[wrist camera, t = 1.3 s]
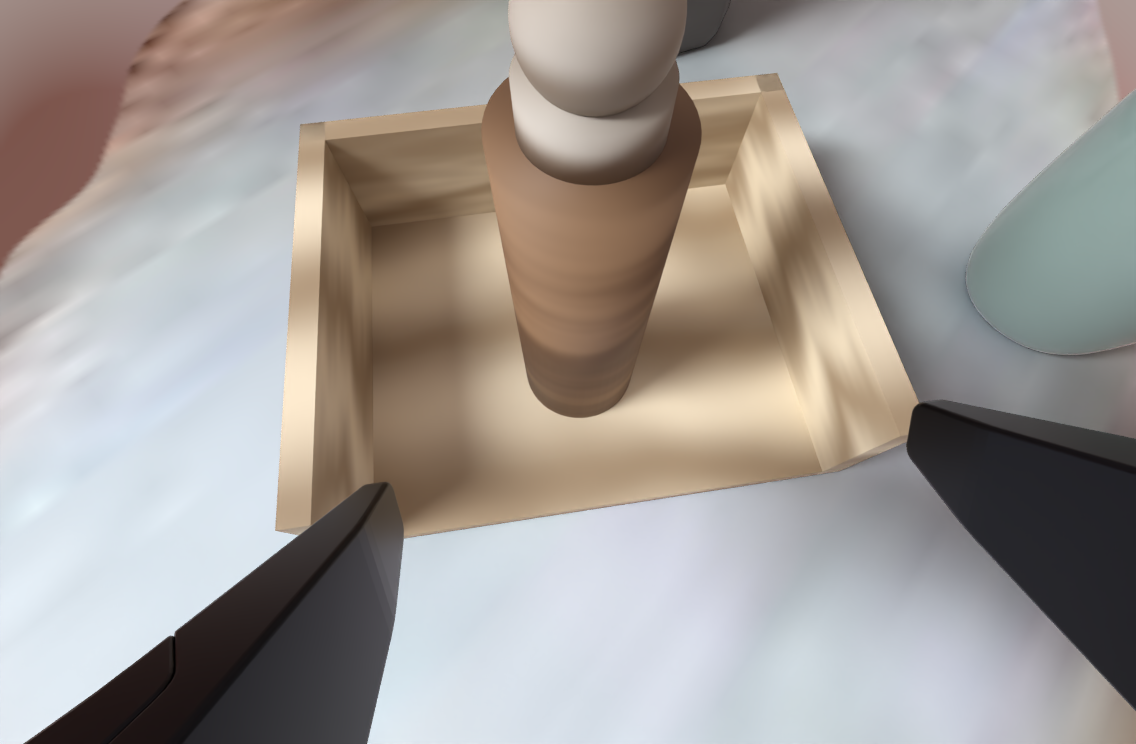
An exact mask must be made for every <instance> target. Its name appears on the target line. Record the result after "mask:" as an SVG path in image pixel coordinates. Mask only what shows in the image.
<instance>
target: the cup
mask: <svg viewBox="0 0 1136 744" xmlns="http://www.w3.org/2000/svg"><path fill="white" fill-rule="evenodd" d="M966 286H967V290H968V294H969V297H970V299H971V301H972V303H973V305H974V307H975V308H976V309H977V311H978V312H979V313H980V315H981V316H982V317H983V318H984V319H985V320H986V321H987V322H988V323H989V324H990V325H991V326H992V327H993V328H994V329H996V330H997V331H998V332H999V333H1001V334H1002V335H1003V336H1005V337H1007V338H1008V339H1010V340H1012V341H1013V342H1015V343H1017V344H1020V345H1022V346H1024V347H1027V348H1029V349H1032V350H1035V351H1039V352H1044V353H1048V354H1059V355H1081V354H1090V353H1095V352H1101V351H1107V350H1111V349H1116V348H1120V347H1124V346H1128V345H1131V344H1135V343H1136V88H1135V89H1134V90H1133V91H1132V92H1130V93H1129V94H1128V95H1127V96H1126V97H1125V98H1123V99H1122V100H1121V101H1120V102H1119V103H1118V104H1116V105H1115V106H1114V107H1113V108H1112V109H1111V110H1110V111H1108V112H1107V113H1106V114H1105V115H1104V116H1103V117H1102V118H1100V119H1099V120H1098V121H1097V122H1096V123H1095V124H1094V125H1092V126H1091V127H1090V128H1089V129H1088V130H1087V131H1086V132H1085V133H1083V134H1082V135H1081V136H1080V137H1079V138H1078V139H1077V140H1076V141H1074V142H1073V143H1072V144H1071V145H1070V146H1069V147H1068V148H1067V149H1065V150H1064V151H1063V152H1062V153H1061V154H1060V155H1059V156H1058V157H1057V158H1055V159H1054V160H1053V161H1052V162H1051V163H1050V164H1049V165H1048V166H1047V167H1046V168H1045V169H1044V170H1042V171H1041V172H1040V173H1039V174H1038V175H1037V176H1036V177H1035V178H1034V179H1033V180H1032V181H1031V182H1030V183H1029V184H1028V185H1026V186H1025V187H1024V188H1023V189H1022V190H1021V191H1020V192H1019V193H1018V194H1017V195H1016V196H1015V197H1014V198H1013V199H1012V200H1011V201H1010V202H1009V203H1008V204H1007V205H1006V206H1005V207H1004V208H1003V210H1002V211H1001V212H1000V213H999V214H998V215H997V216H996V217H995V219H994V220H993V221H992V222H991V223H990V224H989V226H988V227H987V229H986V230H985V231H984V233H983V234H982V236H981V237H980V239H979V240H978V242H977V243H976V245H975V247H974V249H973V251H972V253H971V254H970V258H969V261H968V264H967V268H966Z"/></svg>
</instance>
